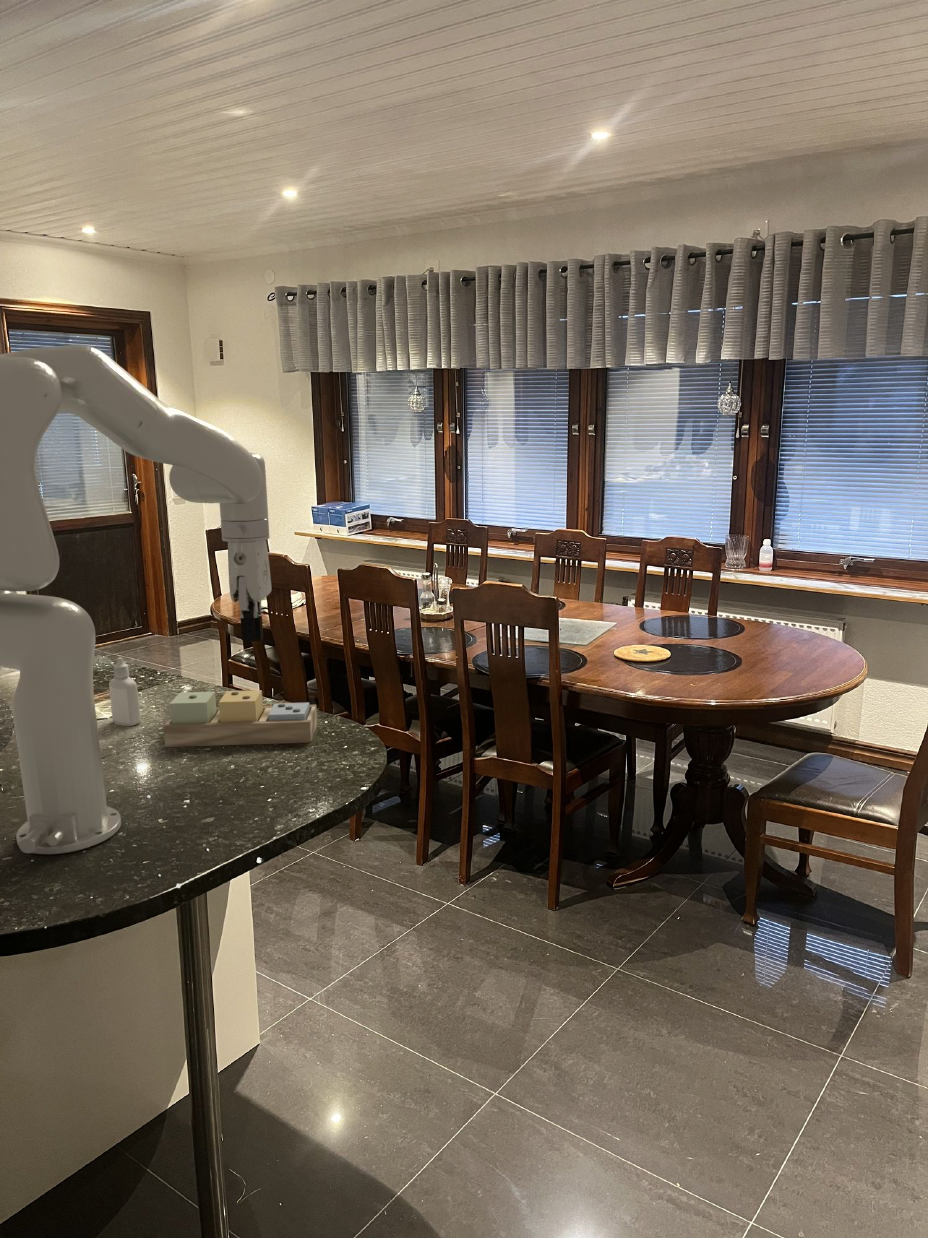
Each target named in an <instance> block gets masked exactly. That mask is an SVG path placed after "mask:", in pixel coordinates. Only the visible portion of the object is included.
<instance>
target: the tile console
mask: <svg viewBox="0 0 928 1238" xmlns="http://www.w3.org/2000/svg"><path fill="white" fill-rule="evenodd" d="M272 707H273V705H263V712H262V714H261V715H260V717H259V719H258V721H249V722H220V711H219V707H216V709H217V712H216V714H215V715H214V717H213V718H212V719H211V721H210V722H209V723H183V724H172V719H171V717H170V718H169V719H168V720H167V721H166V723H165V724H164V725H162V727H163V737H164V747H165V748H168V747H169V748H170V747H171V748H172V747H174V748H175V747H177V748H178V747H198V746H199V747H205V746H209V747H210V746H235V745H236V746H237V745H240V746H241V745H242V746H243V745H271V744H301V743H303V744H304V743H311V742H312V740H313V738H314V735H315V732H316V729H317V726H318V712H317V711H318V710H317V704H309V708H310V713H309V716H308V718H307V720H282V721H269V718H268V715H269V713H270V711H271V709H272Z"/></svg>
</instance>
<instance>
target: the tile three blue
mask: <svg viewBox="0 0 928 1238" xmlns="http://www.w3.org/2000/svg"><path fill="white" fill-rule="evenodd" d="M309 705H310V702H286V703H285V702H282V703H274V704H273V705H272V706H273V707H272V709H271V711H270V713H269V715H268V718H269V721H282V720H307V718H308V716H309V713H310V708H309Z"/></svg>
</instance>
